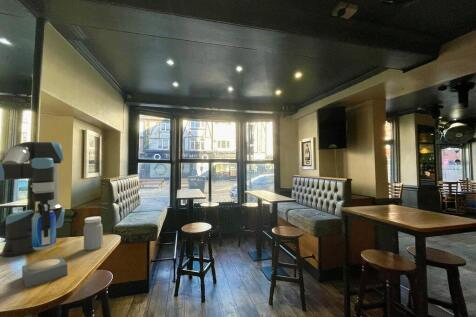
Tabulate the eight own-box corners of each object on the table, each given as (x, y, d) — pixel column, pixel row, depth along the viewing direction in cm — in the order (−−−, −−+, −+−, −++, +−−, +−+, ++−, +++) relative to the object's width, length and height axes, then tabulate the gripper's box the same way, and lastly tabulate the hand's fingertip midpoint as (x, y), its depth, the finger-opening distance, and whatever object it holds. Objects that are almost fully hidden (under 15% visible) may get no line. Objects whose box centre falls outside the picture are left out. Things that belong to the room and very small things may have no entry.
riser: (22, 277, 103) (22, 265, 103) (61, 266, 113) (60, 255, 113) (25, 288, 93) (25, 275, 93) (67, 274, 103) (67, 263, 104)
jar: (81, 252, 130) (81, 220, 130) (85, 246, 139) (85, 217, 139) (101, 249, 134) (101, 218, 134) (104, 244, 143) (103, 215, 143)
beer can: (42, 251, 98) (41, 214, 99) (26, 250, 100) (26, 213, 100) (60, 244, 107) (60, 209, 107) (46, 243, 108) (45, 209, 109)
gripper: (29, 191, 108) (30, 239, 107) (35, 194, 94) (36, 250, 93) (50, 189, 113) (51, 235, 113) (58, 192, 99) (59, 244, 99)
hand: (44, 242), depth 103 cm, fingers closed on beer can, 8 cm apart
